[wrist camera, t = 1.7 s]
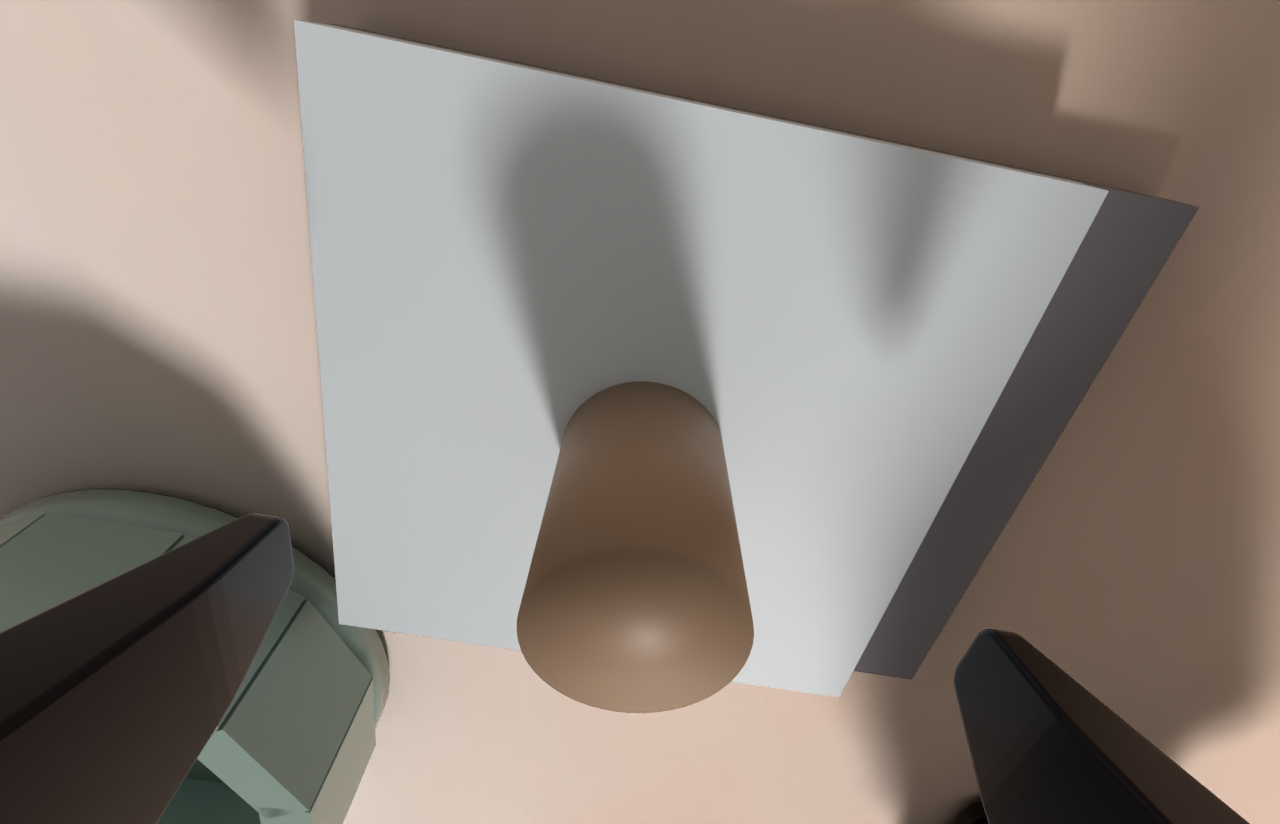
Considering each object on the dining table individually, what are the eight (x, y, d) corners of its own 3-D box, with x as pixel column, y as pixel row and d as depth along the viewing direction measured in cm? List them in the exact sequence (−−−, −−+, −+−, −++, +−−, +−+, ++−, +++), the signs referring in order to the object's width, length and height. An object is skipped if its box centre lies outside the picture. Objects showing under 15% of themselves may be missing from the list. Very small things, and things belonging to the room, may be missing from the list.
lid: (1075, 180, 9) (1421, 277, 5) (830, 667, 15) (899, 911, 10) (323, 23, 8) (-2, -19, 4) (355, 595, 14) (223, 826, 10)
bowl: (386, 530, 14) (293, 689, 10) (391, 786, 18) (329, 954, 15) (-96, 454, 13) (-374, 596, 9) (40, 740, 18) (-111, 905, 14)
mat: (1169, 200, 10) (1199, 207, 9) (902, 658, 15) (911, 679, 15) (342, 25, 9) (323, 23, 8) (366, 576, 14) (355, 595, 14)
